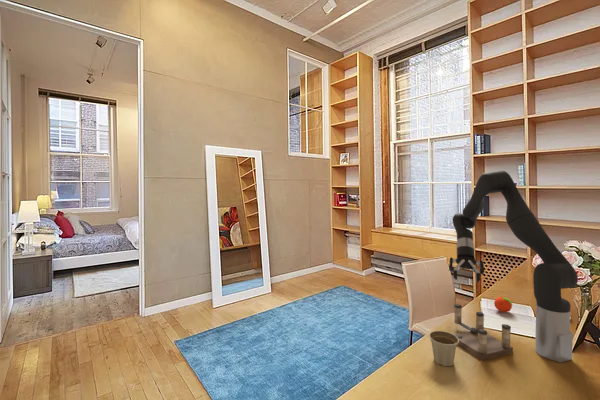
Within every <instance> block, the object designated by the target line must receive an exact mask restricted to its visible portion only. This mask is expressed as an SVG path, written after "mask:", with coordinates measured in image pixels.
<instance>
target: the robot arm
mask: <svg viewBox="0 0 600 400" xmlns="http://www.w3.org/2000/svg"><path fill="white" fill-rule="evenodd" d="M496 193H501V195H502V196H503V197H504V199H505V202H506V212H505V213H506V214H505V221H506V224H507V225H508V227H509V228H510V230H511V233H513V235H514V236H515V237H516V238H517V240H519V241H520V242H521V243H523V244H524V245H526V246H527V247H528V248H530V249H531V250H533V252H534V253H536V255H538V257H539V259H540V260H541V261H542V262H541V263H539V264H537V265H536V266H535V267H534V270H533V274H532V276H533V282H532V283H533V295H534V298H535V300H536V301H535V302H536V304H535V305H536V306H535V307H536V309H535V313H536V314H535V338H534V339H535V342H534V345H535V346H534V351H535V352H536V354H538V355H539V356H541V357H543V358H546V359H548V360H551V361H554V362H558V363H564V362H568V361H572V360H573V346H574V344H573V342H574V341H573V340H574V334H573V332H572V331H571V308H572V307H571V306H572V305H571V302H570V301H569V300H567V299H565V298H562V289H563V290H564V289H570V288H574V287H576V285H577V284H578V281H579V278H578V274H577V272H576V269H575V268H574V267H573V265H572V264H571V263H570V261H569V260H568V259H567V258H566V257H565V256H564V254H563V253H562V252H561V250H559V249H558V248H557V246H556V244H555V243H553V241H552V239H551V238H550V237H549V235H548V234H547V232H546V231H545V229H544V228H543V226H542V225H541V223H540V221H539V220H538V219H537V217H536V216H535V214H534V213H533V211H531V209H530V208H529V206H528V204H527V203H526V201H525V200H524V199H523V197H522V195H521V192H520V191H519V189H518V187H517V185H516V183H515V182H514V180H513V178H512V176H511V175H510V173H508V172H507V171H506V170H494V171H487V172H484V173H482V174H481V175H479V178H478V179H477V182H476V184H475V186H474V189H473V192H472V193H471V197H470V199H469V201H468V202H467V204H466V205H465V207H464V208H463V209H462V212H461V213H459V212H458V213H457V212H456V213H455V214H454V215H453V217H452V224H453V227H454V229H455V232H456V258H453V257H451V256H450V257H449V264H448V269H449V270H448V271H449V272H452V274H453V279H454V280H455V281H457V280H458V271H459V270H460V269H463V270H470V271H472V273H473V272H474V274H475V284H476V283H479V282H480V281H481V275H484V274H485V266H484V260H476V258H475V257H476V255H475V254H476V253H475V243H474V233H473V230H471V229H473V228H474V227H476V224H477V220H478V217H479V216H480V214H481V213H482V212H483V210H484V208H485V200H484V198H485V197H486V196H487V195H489V194H496ZM455 263H456V266H455V267H453V264H455ZM477 266H478V267H479V269H478V267H477Z"/></svg>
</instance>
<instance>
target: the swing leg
mask: <svg viewBox="0 0 600 400" xmlns="http://www.w3.org/2000/svg"><path fill="white" fill-rule="evenodd" d="M462 308H463V306H462V304H460V303H459V304H458V303H455V304H454V324H456V325H459V326H460V327H462V328H465V330H468V332H470V331H471V332H472V333H477V329H476V327H470V326H469V325H468V324H467V325H466V324H465V323H463V322H462V313H463V312H462Z"/></svg>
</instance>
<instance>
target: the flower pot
mask: <svg viewBox="0 0 600 400" xmlns="http://www.w3.org/2000/svg"><path fill="white" fill-rule="evenodd" d="M454 334H455V333H453V332H452V333H451V332H449V331H446V330H445V331H444V330H434V331H433V330H432V331H430V332H429V334H428V338H429V339H430V342H431V347H432V355H433V359H434V362H435V363H436V364H438V365H442V366H444V367H451V366H453V365H454V363H455V357H456V352H457V351H456V349H457V346H458V343H459V339H458V337H457V336H455V335H454Z"/></svg>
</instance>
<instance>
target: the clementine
mask: <svg viewBox="0 0 600 400" xmlns="http://www.w3.org/2000/svg"><path fill="white" fill-rule="evenodd" d="M493 302H494V307H495V308H496V310H498V312H501V313H508V312H510V311H511V310H512V309H513V303H512V301H510V299H509V298H507V297H505V296H498V297H497V298H495V300H494V301H493Z"/></svg>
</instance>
